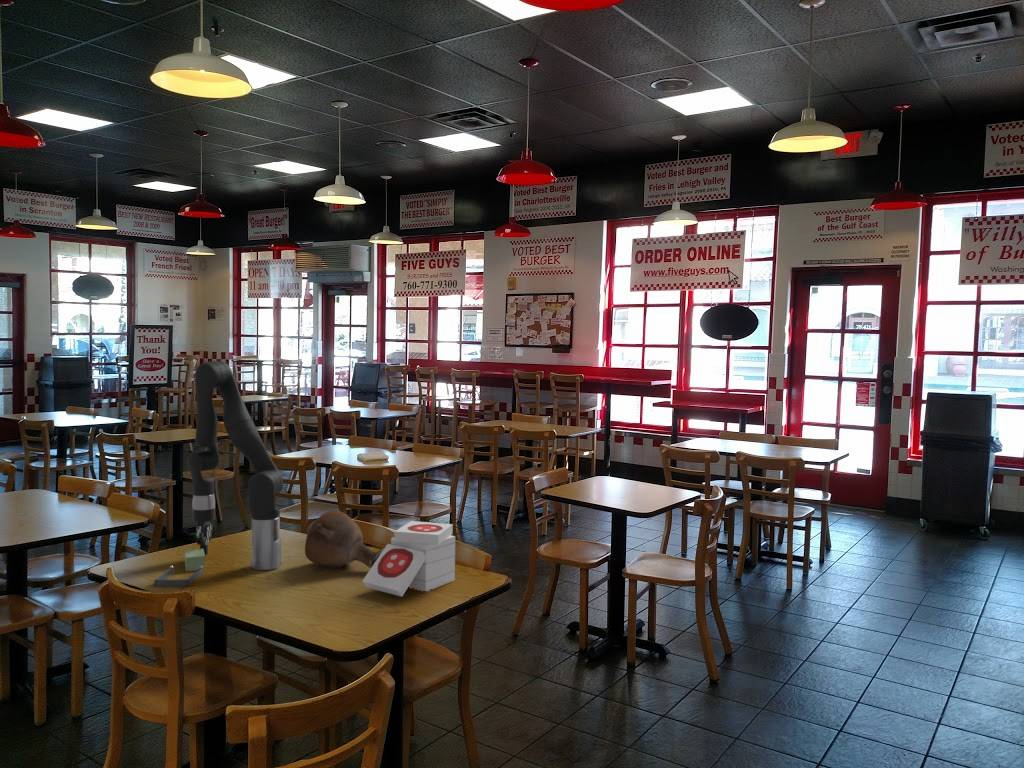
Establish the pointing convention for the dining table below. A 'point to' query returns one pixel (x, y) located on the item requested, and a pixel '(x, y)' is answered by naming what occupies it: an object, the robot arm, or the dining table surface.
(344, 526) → the jug
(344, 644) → the dining table surface
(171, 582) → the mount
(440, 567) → the pizza boxes
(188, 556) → the pale green block
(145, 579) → the dining table surface
